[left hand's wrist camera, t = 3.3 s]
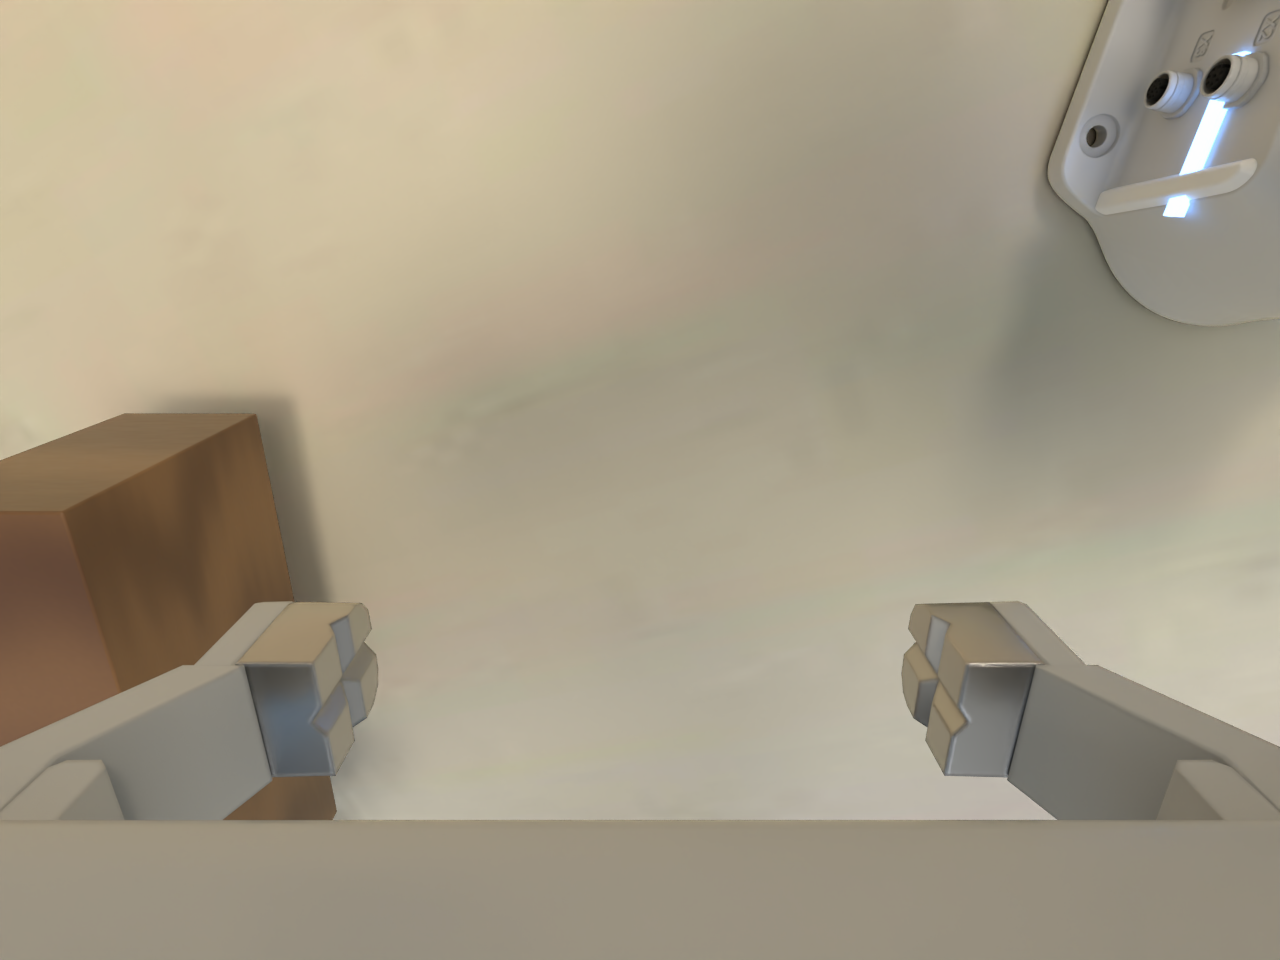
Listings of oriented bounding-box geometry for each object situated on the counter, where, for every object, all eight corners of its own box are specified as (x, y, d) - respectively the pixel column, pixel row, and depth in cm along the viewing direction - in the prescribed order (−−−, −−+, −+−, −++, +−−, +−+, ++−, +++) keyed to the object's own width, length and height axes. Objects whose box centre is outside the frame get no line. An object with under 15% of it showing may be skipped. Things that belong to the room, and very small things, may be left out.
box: (123, 412, 31) (-138, 511, 21) (257, 413, 31) (61, 511, 21) (232, 810, 39) (83, 1023, 29) (337, 811, 39) (227, 1024, 29)
